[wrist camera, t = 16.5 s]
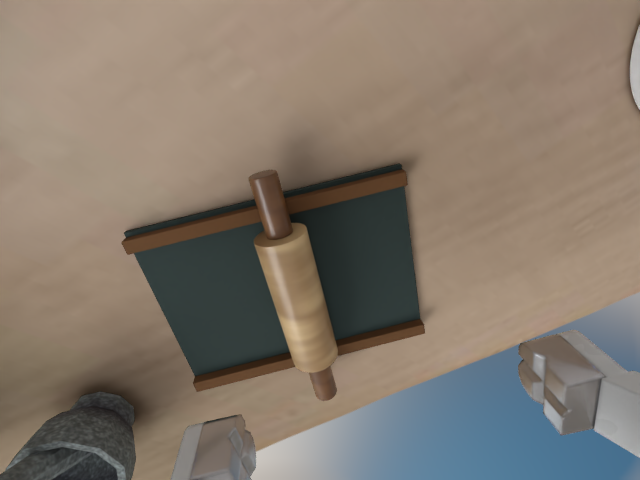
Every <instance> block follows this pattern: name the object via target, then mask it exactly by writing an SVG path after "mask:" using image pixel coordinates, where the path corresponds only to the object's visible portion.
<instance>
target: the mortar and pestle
mask: <svg viewBox="0 0 640 480" xmlns="http://www.w3.org/2000/svg"><path fill="white" fill-rule="evenodd" d="M134 421H135V418H134V407H133V406H132V405H131V404H129V403H128V402H127V401H126V400H125V399H124V398H122V397H121V396H118V395H114V394H110V393H105V392H97V393H92V394H88V395H83V396H82V397H81V398H80V399H79V400H78V401H77V402H76V403H75V404H74V405H73V407H72V408H71V410H70V411H67V412H62V413H60V414H58V415H56V416H55V417H53V418H51V419H49V420H48V421H46V422H45V423H44V424H43V425H42V427H41V428H40V429H39V430H38V431H37V432H36V433H35V434H34V435H33V436H32V437H31V438H30V440H29V441H28V442H27V443H26V444H25V445H24V446H23V447H22V449H21V450H20V451H19V452H18V453H17V454H16V456H15V457H14V458H13V460H12V461H11V463H10V464H9V465H8V467H7V468H6V471H5V472H3V473H2V474H0V480H131V478H132V475H133V471H134V466H135V461H136V455H135V445H134V436H133V430H132V425H133V423H134Z"/></svg>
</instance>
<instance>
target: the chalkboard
mask: <svg viewBox="0 0 640 480" xmlns="http://www.w3.org/2000/svg"><path fill="white" fill-rule="evenodd" d="M406 185H407V176H406V172H405V171H404V170H402V165H401V164H396V165H392V166H388V167H384V168H379V169H375V170H371V171H367V172H363V173H359V174H355V175H351V176H347V177H343V178H339V179H335V180H331V181H327V182H323V183H319V184H315V185H311V186H307V187H303V188H299V189H295V190H291V191H287V192H283V195H284V199H285V202H286V206H287V210H288V213H289V217H290V221H291V223H301V224H304V225H305V226H306V228H307V231H308V235H309V239H310V243H311V247H312V251H313V255H314V259H315V262H316V266H317V270H318V274H319V278H320V282H321V286H322V290H323V294H324V298H325V302H326V305H327V309H328V313H329V317H330V321H331V325H332V329H333V333H334V337H335V341H336V345H337V348H338V355H337V356H339V355H342V354H346V353H350V352H354V351H358V350H362V349H366V348H370V347H374V346H378V345H381V344H385V343H389V342H393V341H397V340H401V339H405V338H409V337H413V336H416V335H420V334H424V333H425V330H424V324H423V322H422V321H421V319H420V313H419V305H418V296H417V288H416V280H415V272H414V264H413V255H412V247H411V239H410V231H409V223H408V214H407V206H406V198H405V190H404V186H406ZM262 231H264V227H263V224H262V221H261V218H260V214H259V211H258V208H257V205H256V202H255V199H254V200H250V201H246V202H242V203H238V204H234V205H230V206H226V207H222V208H218V209H214V210H210V211H206V212H202V213H198V214H194V215H190V216H186V217H182V218H178V219H174V220H170V221H166V222H161V223H157V224H153V225H149V226H145V227H141V228H137V229H133V230H129V231H126V232H125V233H124V234H125V236H126V238H125V239H124V240H123V241H122V245H123V247H124V249H125V251H126V253H127V254H128V255H129V254H133V253H134V255H135V257H136V259H137V261H138V263H139V265H140V267H141V269H142V271H143V273H144V275H145V277H146V279H147V281H148V283H149V285H150V287H151V289H152V291H153V293H154V295H155V297H156V299H157V301H158V303H159V305H160V307H161V309H162V311H163V313H164V315H165V317H166V319H167V321H168V323H169V325H170V327H171V329H172V331H173V333H174V335H175V337H176V339H177V341H178V343H179V345H180V347H181V349H182V351H183V353H184V355H185V357H186V359H187V361H188V363H189V365H190V367H191V369H192V371H193V373H194V375H195V379H194V382H193V385H194V387H195V388H196V390H197V392H198V391H202V390H206V389H210V388H214V387H218V386H222V385H226V384H230V383H233V382H237V381H241V380H245V379H249V378H253V377H257V376H261V375H265V374H269V373H272V372H276V371H280V370H284V369H288V368H292V367H295V365H294V363H293V360H292V357H291V354H290V351H289V348H288V345H287V342H286V338H285V335H284V332H283V329H282V326H281V323H280V320H279V317H278V314H277V311H276V308H275V305H274V302H273V299H272V296H271V293H270V290H269V287H268V284H267V281H266V278H265V275H264V272H263V269H262V266H261V263H260V260H259V257H258V254H257V251H256V248H255V245H254V239H255V237H256V236H257V235H258V234H259V233H261V232H262Z"/></svg>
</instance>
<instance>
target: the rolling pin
mask: <svg viewBox="0 0 640 480" xmlns="http://www.w3.org/2000/svg"><path fill="white" fill-rule="evenodd" d="M249 182H250V186H251V189H252V192H253V195H254V198H255V202H256V205H257V208H258V211H259V214H260V218H261V221H262V224H263V227H264V231H262V232H261V233H259V234H258V235H257V236H256V237H255V239H254V245H255V248H256V251H257V254H258V257H259V260H260V263H261V266H262V269H263V272H264V275H265V278H266V281H267V284H268V287H269V290H270V293H271V296H272V299H273V302H274V305H275V308H276V311H277V314H278V317H279V320H280V323H281V326H282V329H283V332H284V335H285V338H286V342H287V345H288V348H289V351H290V354H291V357H292V360H293V363H294V365H295V367H296V368H297V369H299V370H300V371H303V372H307V373H309V375H310V378H311V381H312V384H313V387H314V391H315V394H316V396H317V398H318V399H320V400H322V401H327V400H330V399H332V398H333V397H334V396H335V395H336V392H337V388H336V385H335V381H334V377H333V374H332V370H331V366H330V365H331V364H332V363H333V362H334V361H335V360H336V358H337V355H338V348H337V345H336V341H335V337H334V333H333V329H332V325H331V321H330V317H329V313H328V309H327V305H326V302H325V298H324V294H323V290H322V286H321V282H320V278H319V274H318V270H317V266H316V262H315V259H314V255H313V251H312V247H311V243H310V239H309V235H308V231H307V228H306V226H305V225H304V224H301V223H291V221H290V217H289V213H288V210H287V206H286V202H285V199H284V195H283V191H282V188H281V184H280V180H279V177H278V173H277V171H276V170H267V171H262V172H259V173H256V174H253V175H251V176H250V177H249Z"/></svg>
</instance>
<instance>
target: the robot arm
mask: <svg viewBox="0 0 640 480" xmlns="http://www.w3.org/2000/svg"><path fill="white" fill-rule="evenodd" d="M630 84H631V90H632V94H633V97H634V100H635V102H636V104H637V106H638V108H639V110H640V25H639V28H638V30H637V33H636V37H635V40H634V44H633V48H632V53H631V61H630ZM519 355H520V356H521V357H522V358H523V360H522V361H521V363H520V364H519V365H518V370H519V377H520V380H521V383H522V385H523V387H524V388H525V390H526V392H527V393H528V394H529V396H530V397H531V398H532V399H533V400H534V401H536V402H539V403H541V404H543V413H544V415H545V416H546V417H547V418H548V420H549V421H550V422H551V424H552V425H553V426H554V427H555V429H556V430H557V431H558V432H559V433H560V435H566V434H570V433H575V432H580V431H584V430H589V429H594V431H596V432H598V433H599V434H601V435H603V436H604V437H606V438H608V439H609V440H611V441H613V442H614V443H616V444H618V445H619V446H621V447H623V448H624V449H626V450H628V451H629V452H631V453H633V454H634V455H636V456H638V457H639V458H640V373H638V372H635V371H630V372H627V371H626V370H625V369H624V368H623V367H621V366H620V365H619V364H618V363H617V362H615V361H614V360H613V359H612V358H610V357H609V356H608V355H607V354H606V353H604V352H603V351H602V350H601V349H599V348H598V347H597V346H596V345H594V343H592V342H591V341H590V340H589V339H587V338H586V337H585V336H584V335H582V334H581V333H580V332H579V331H576V330H571V331H567V332H563V333H559V334H556V335H551V336H547V337H543V338H539V339H535V340H532V341H528V342H524V343H521V344H520V346H519ZM255 468H256V450H255V444H254V440H253V437H252V435H251V433H250V432H249V431H247V430H245V420H244V419H243V417H242V415H234V416H230V417H225V418H221V419H216V420H212V421H207V422H204V423H199V424H195V425H191V426H188V427H187V429H186V430H185V432H184V435H183V438H182V442H181V445H180V448H179V452H178V455H177V459H176V462H175V466H174V469H173V473H172V476H171V479H170V480H251V478H250V476H251V475H252V473H253V471H254V470H255Z"/></svg>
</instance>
